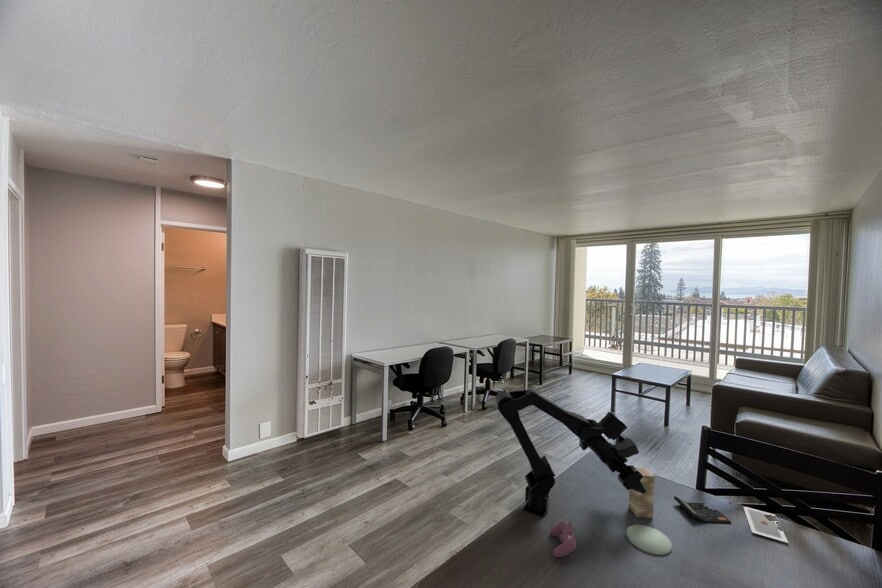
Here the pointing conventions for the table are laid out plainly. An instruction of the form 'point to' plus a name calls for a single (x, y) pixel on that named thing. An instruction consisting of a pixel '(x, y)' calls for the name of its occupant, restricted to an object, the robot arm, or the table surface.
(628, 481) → the robot arm
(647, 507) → the maple block
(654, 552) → the sage mat
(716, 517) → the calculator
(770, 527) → the touchpad
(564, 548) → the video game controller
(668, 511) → the table surface
